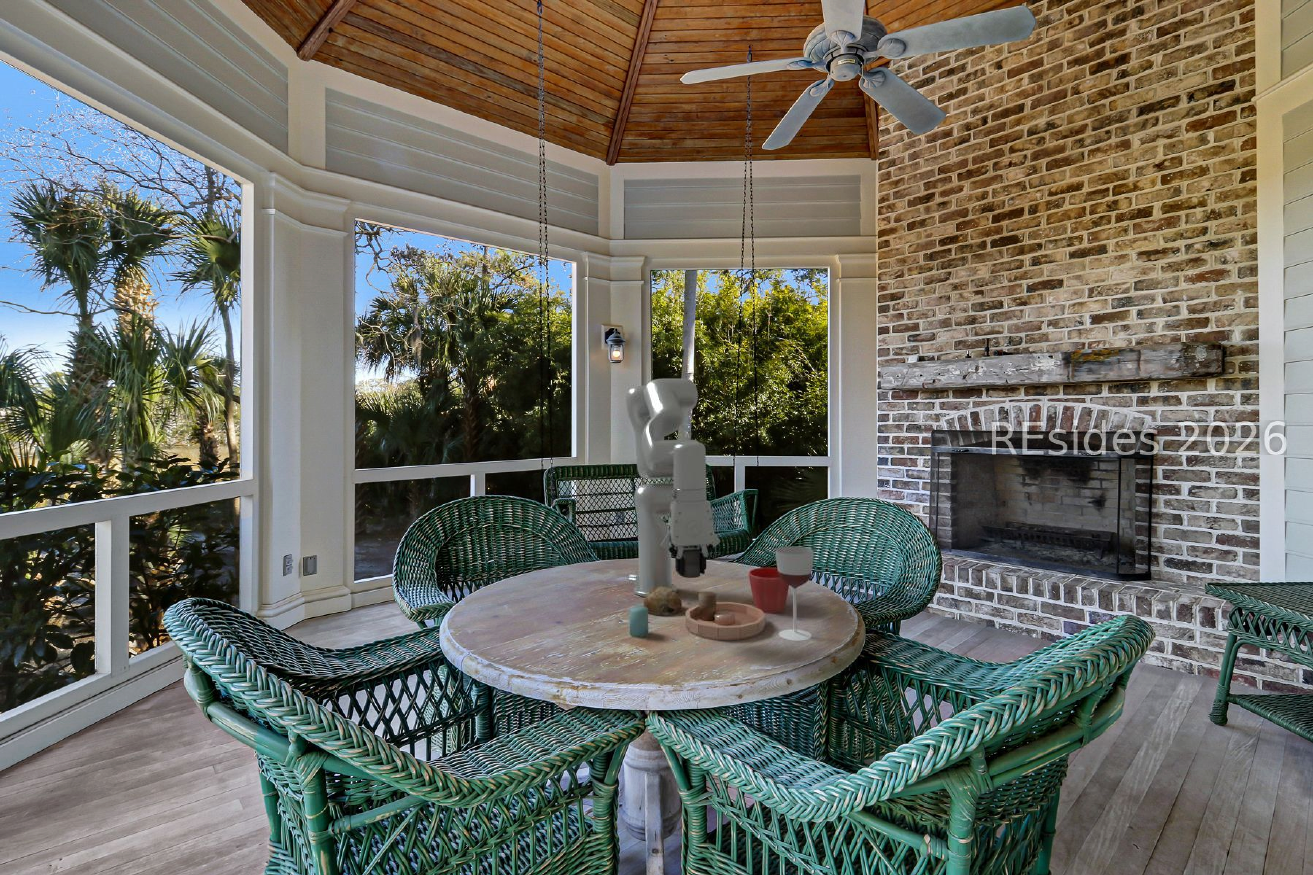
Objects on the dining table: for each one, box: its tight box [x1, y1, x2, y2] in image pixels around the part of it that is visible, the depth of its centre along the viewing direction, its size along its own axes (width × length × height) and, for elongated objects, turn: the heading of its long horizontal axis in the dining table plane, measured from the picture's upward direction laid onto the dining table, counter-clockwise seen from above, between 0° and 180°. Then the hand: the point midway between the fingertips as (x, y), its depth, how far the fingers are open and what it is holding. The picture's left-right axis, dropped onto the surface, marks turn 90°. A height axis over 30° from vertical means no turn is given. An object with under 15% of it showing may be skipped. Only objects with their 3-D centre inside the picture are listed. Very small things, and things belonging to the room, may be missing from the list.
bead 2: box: [681, 547, 701, 579], centre depth 151 cm, size 4×4×6 cm
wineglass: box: [775, 546, 814, 642], centre depth 152 cm, size 8×9×20 cm
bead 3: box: [698, 591, 717, 621], centre depth 162 cm, size 4×4×6 cm
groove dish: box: [685, 601, 766, 641], centre depth 159 cm, size 19×19×3 cm
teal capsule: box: [628, 605, 649, 638], centre depth 155 cm, size 4×4×6 cm
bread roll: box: [643, 587, 683, 617], centre depth 172 cm, size 10×10×8 cm
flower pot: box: [748, 567, 790, 614], centre depth 172 cm, size 11×11×10 cm
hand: (691, 572), depth 151 cm, fingers closed on bead 2, 4 cm apart
